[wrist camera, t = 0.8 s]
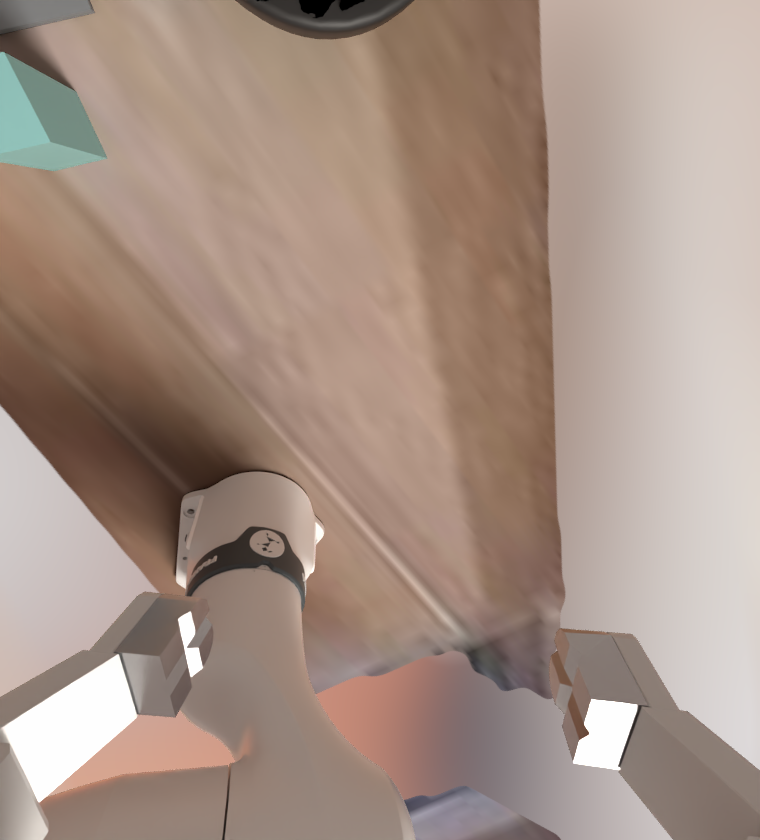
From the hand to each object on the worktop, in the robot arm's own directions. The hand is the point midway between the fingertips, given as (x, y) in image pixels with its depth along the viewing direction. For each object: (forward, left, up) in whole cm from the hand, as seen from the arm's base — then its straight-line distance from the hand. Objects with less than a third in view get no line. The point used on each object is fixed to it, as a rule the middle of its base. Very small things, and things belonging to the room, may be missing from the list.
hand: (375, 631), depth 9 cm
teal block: (+4, +23, -38) cm, 45 cm away
